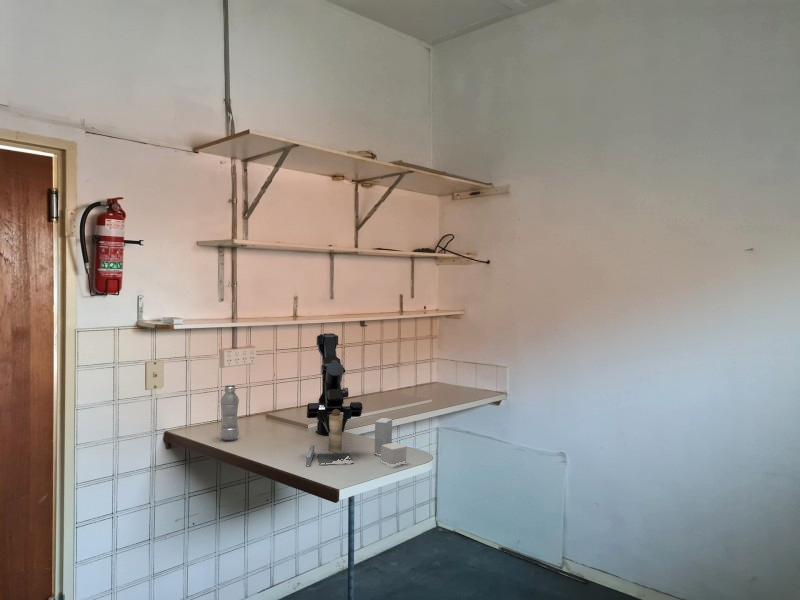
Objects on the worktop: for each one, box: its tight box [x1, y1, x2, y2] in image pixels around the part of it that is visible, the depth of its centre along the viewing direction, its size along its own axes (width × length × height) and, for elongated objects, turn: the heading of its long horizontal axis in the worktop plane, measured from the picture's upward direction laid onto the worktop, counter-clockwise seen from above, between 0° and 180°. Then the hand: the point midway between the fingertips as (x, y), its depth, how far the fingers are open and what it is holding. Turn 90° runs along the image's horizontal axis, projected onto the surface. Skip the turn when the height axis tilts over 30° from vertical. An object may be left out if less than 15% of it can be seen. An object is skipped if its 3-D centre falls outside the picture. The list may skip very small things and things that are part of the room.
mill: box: [328, 409, 343, 453], centre depth 196 cm, size 4×4×14 cm
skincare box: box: [374, 417, 393, 454], centre depth 203 cm, size 6×4×12 cm
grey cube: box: [380, 442, 407, 464], centre depth 194 cm, size 6×6×6 cm
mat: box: [316, 452, 352, 465], centre depth 196 cm, size 11×11×1 cm
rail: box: [305, 444, 316, 466], centre depth 195 cm, size 14×1×3 cm, turn 2°
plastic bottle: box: [219, 384, 240, 441], centre depth 216 cm, size 6×7×20 cm
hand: (335, 431), depth 194 cm, fingers closed on mill, 4 cm apart
